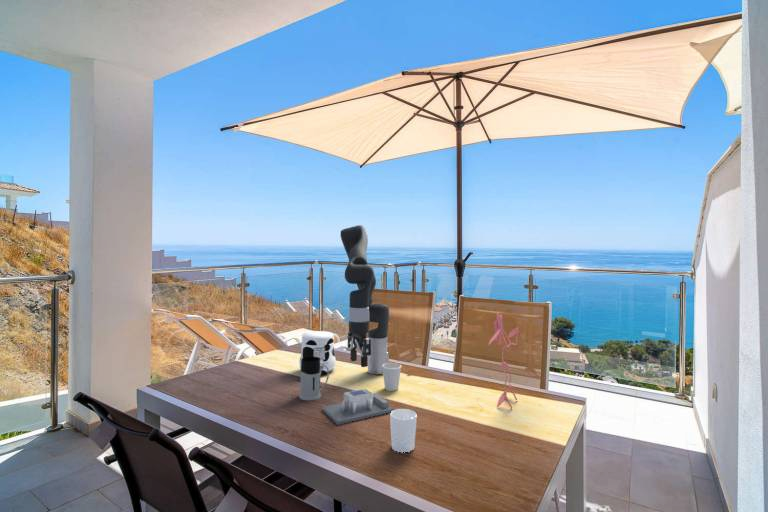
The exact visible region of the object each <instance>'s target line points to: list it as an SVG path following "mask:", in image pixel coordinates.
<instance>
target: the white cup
mask: <svg viewBox="0 0 768 512" xmlns="http://www.w3.org/2000/svg"><path fill="white" fill-rule="evenodd" d="M389 416H390V417H389V418H390V419H389V423H390V424H389V425H390V426H389V427H390V439H391V449H392V450H393V451H394V452H396V451H397V452H396V453H399V452H401V454H406V453H405V452H408V453H411V452H412V451H411V450H413V451H414V449H415V445H416V444H415V441H416V432H417V413H416V411H415V410H412V409H408V408H396V409H394V410H393V411H392V412H391V413H389ZM410 451H411V452H410ZM403 452H404V453H403Z"/></svg>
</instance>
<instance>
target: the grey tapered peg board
mask: <svg viewBox="0 0 768 512" xmlns="http://www.w3.org/2000/svg"><path fill="white" fill-rule="evenodd" d="M321 410H322V412H323V413H324V414H326V416H328V417H329V419H331V420H332V422H333V423H335V424H336V426H340V425H345V424H349V423H353V422H352V421H354V422H357V420H358V421H362V420H366V419H365V418H367V419H370V418H369V417H371V418H374V417H373V416H375V417H379V416H382V414H384V415H387V414H386V413H388V414H390V412H392V411H393V410H395V409H394V408H393V407H392V406H390V405H389V401H388V400H386V399H385V398H383V397H381V396H380V395H379V394H377V393H376V392H375V393H372V400H370V409H365V410H360V411H356V403H353V412H351V413H349V412H348V411H346V410H345V401H344V400H342V401H341V403H336V404H331V405H326V406H322V409H321ZM378 415H379V416H378ZM361 419H362V420H361ZM344 423H345V424H344Z"/></svg>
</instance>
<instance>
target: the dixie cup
mask: <svg viewBox="0 0 768 512" xmlns="http://www.w3.org/2000/svg"><path fill="white" fill-rule="evenodd" d="M382 367H383V374H382V375H383V383H384V390H385V389H386V390H385V391H387V390H390V391H389V392H394V391H393V390H396V391H398V390H399V386H400V377H401V370H402V367H403V366H402V365H401V364H400V363H397V362H389V363H385V364H383V365H382ZM397 389H398V390H397Z"/></svg>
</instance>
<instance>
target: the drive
mask: <svg viewBox="0 0 768 512" xmlns="http://www.w3.org/2000/svg"><path fill="white" fill-rule="evenodd" d="M372 394H373V393H372V392H371V391H369V389H367V388H363V389H357V390H351V391H346V392H345V391H344V392H343V401H345V410H346V411H348V412H349V413H351V412H353V403H356V411H360V410H365V409H370V400H372Z"/></svg>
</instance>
